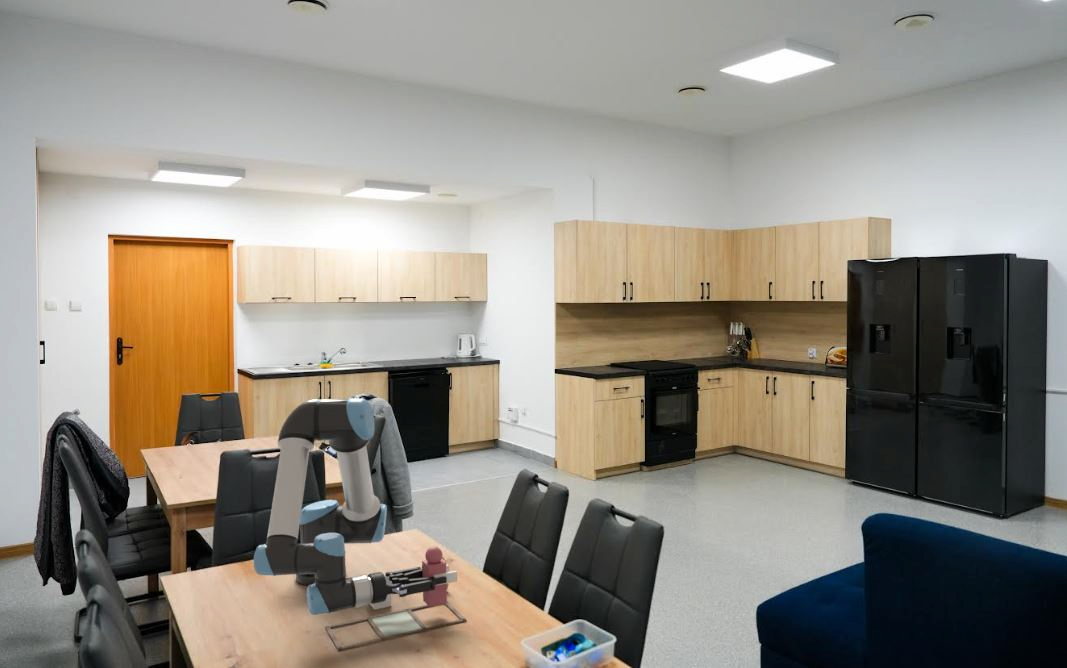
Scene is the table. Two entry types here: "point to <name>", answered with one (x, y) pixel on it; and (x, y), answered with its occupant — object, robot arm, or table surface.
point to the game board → (393, 625)
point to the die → (382, 603)
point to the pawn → (430, 568)
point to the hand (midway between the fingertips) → (452, 572)
